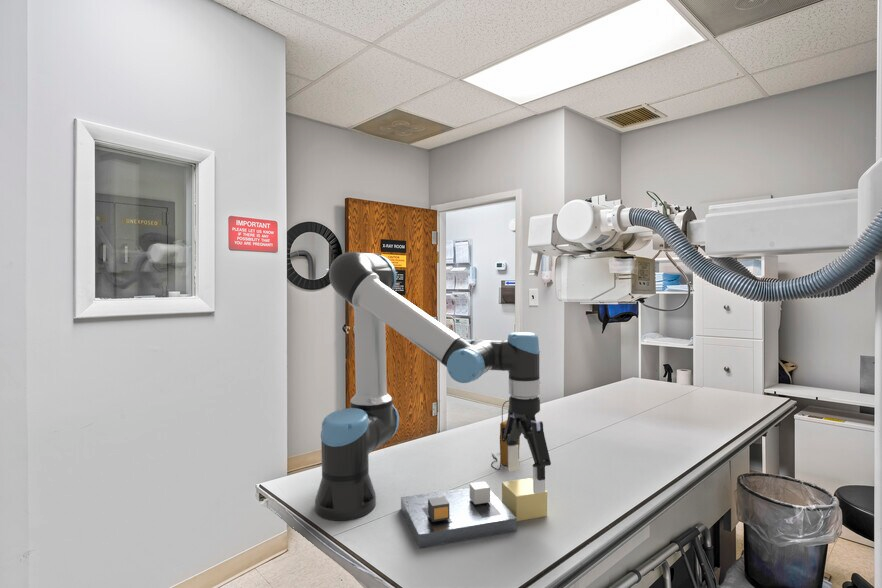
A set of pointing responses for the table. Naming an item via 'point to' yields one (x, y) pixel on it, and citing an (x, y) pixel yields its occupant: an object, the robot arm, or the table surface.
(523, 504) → the cap
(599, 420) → the table surface
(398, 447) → the table surface
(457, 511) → the breaker panel
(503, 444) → the multimeter
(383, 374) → the robot arm
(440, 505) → the block
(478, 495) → the block
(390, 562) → the table surface
